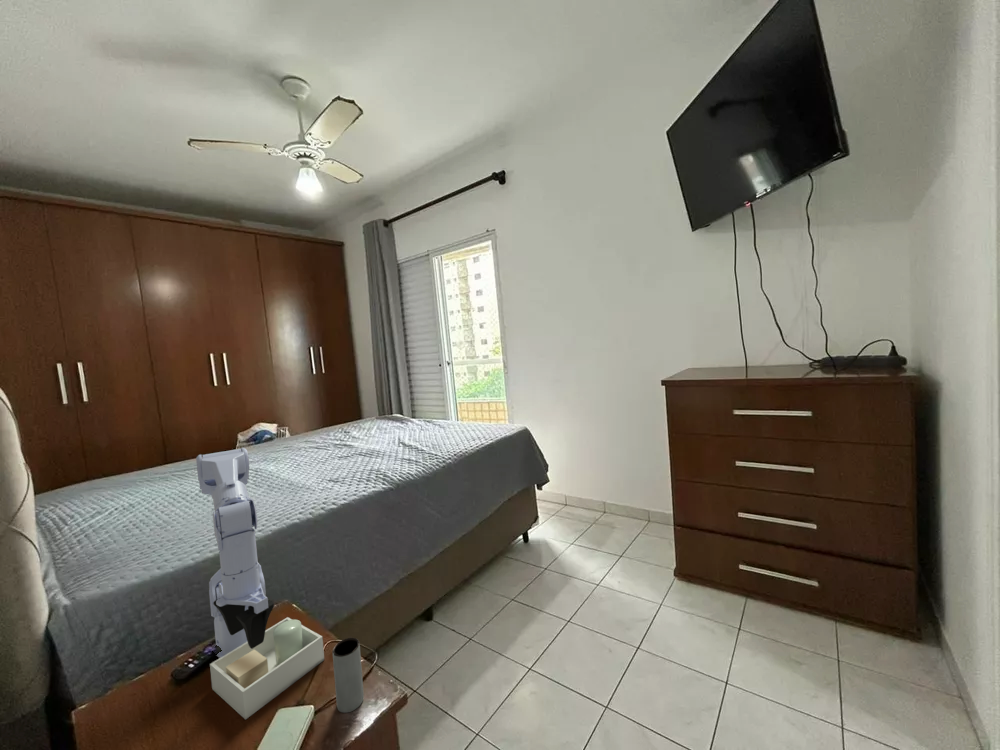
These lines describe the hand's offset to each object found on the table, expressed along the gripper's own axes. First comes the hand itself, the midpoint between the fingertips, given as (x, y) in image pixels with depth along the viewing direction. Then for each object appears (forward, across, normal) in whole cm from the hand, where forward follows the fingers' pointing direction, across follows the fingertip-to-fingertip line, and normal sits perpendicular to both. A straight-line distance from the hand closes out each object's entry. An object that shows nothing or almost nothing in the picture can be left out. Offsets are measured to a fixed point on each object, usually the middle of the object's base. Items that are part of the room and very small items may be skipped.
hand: (246, 638), depth 73 cm
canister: (+10, 0, +8) cm, 12 cm away
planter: (+11, +19, +8) cm, 23 cm away
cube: (+10, -1, 0) cm, 10 cm away
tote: (+10, -1, +4) cm, 11 cm away
